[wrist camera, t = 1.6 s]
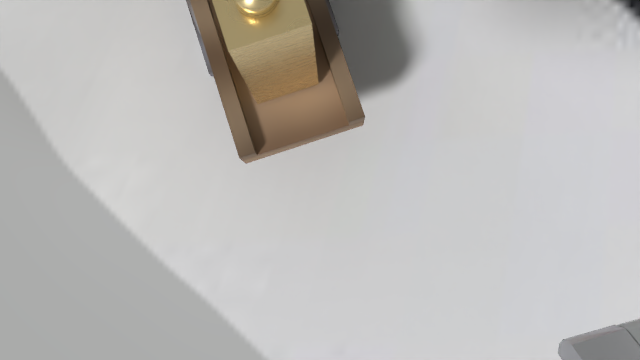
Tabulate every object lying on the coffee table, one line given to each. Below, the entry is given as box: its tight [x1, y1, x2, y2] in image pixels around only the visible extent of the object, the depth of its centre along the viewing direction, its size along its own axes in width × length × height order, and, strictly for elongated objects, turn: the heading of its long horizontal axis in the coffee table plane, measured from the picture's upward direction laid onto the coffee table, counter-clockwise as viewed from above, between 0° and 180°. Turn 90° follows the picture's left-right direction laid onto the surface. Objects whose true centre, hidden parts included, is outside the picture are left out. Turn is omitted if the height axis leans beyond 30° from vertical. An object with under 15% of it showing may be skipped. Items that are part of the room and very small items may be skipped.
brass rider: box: [212, 0, 319, 104], centre depth 31 cm, size 4×4×11 cm
